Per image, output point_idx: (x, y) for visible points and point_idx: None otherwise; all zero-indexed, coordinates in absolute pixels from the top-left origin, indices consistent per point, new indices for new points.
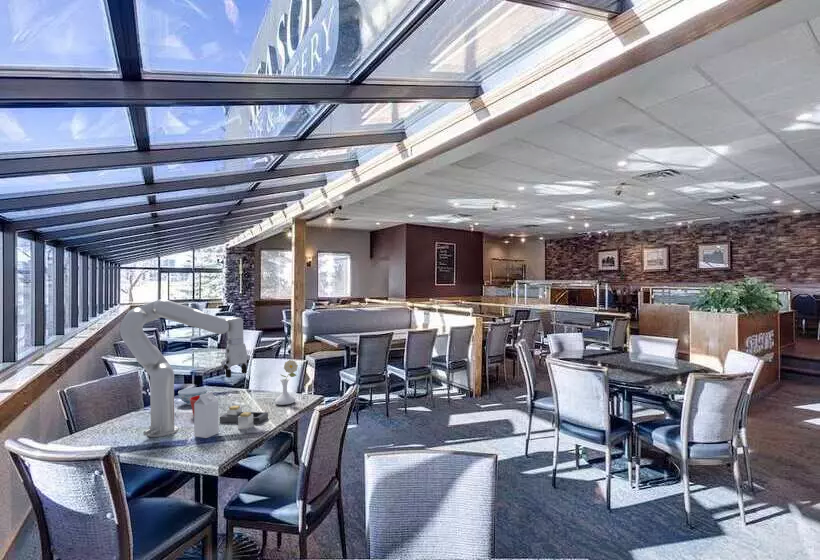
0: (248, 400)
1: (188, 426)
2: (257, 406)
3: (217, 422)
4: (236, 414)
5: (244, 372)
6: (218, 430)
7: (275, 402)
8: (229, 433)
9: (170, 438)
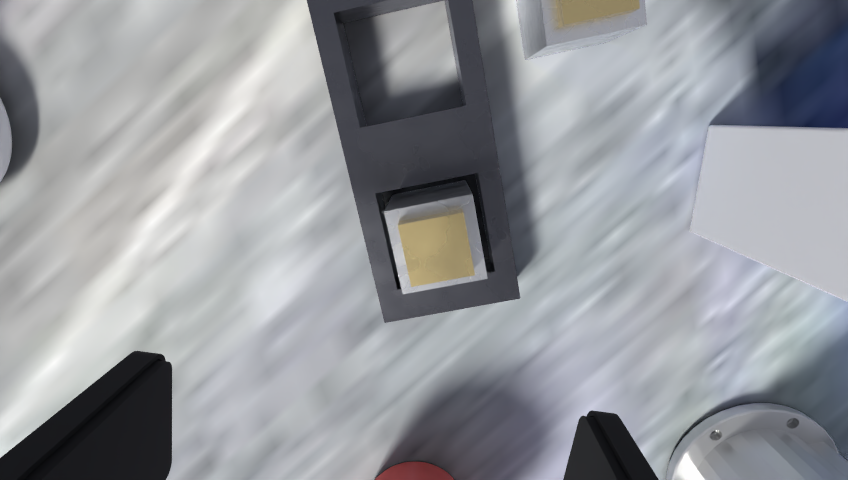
0: None
1: None
2: (109, 294)
3: (772, 126)
4: (469, 188)
5: (160, 398)
6: (719, 126)
7: (2, 172)
8: (696, 41)
9: (833, 353)
